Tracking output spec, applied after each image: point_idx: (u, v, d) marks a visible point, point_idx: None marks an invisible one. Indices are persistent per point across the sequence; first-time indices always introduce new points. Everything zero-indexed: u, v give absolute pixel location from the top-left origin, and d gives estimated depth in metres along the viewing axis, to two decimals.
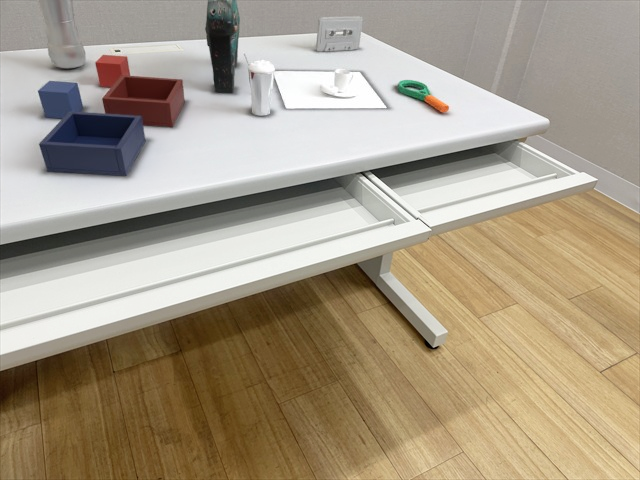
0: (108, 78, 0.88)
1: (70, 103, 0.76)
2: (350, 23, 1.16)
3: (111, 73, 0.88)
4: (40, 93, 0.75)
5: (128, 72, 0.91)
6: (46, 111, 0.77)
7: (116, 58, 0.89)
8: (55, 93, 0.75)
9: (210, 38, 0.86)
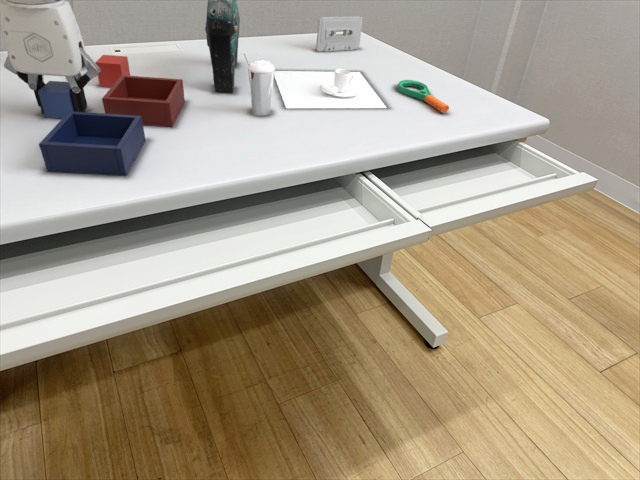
0: (108, 78, 0.88)
1: (70, 103, 0.76)
2: (350, 23, 1.16)
3: (111, 73, 0.88)
4: (40, 93, 0.75)
5: (128, 72, 0.91)
6: (46, 111, 0.77)
7: (116, 58, 0.89)
8: (55, 93, 0.75)
9: (210, 38, 0.86)
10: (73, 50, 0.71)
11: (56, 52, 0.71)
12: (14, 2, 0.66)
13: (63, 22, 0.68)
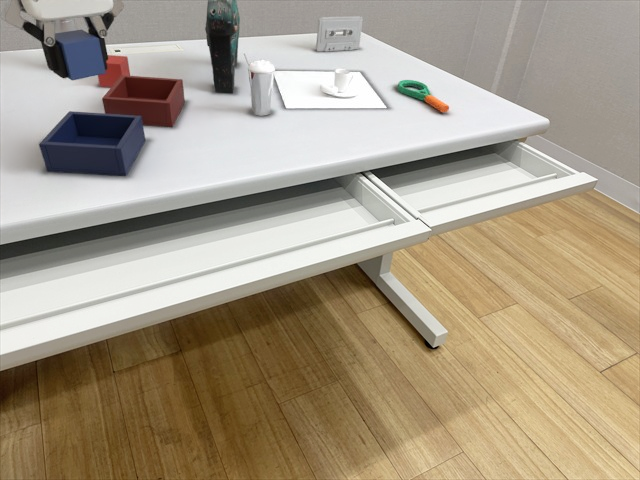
0: (108, 78, 0.88)
1: (100, 52, 0.61)
2: (350, 23, 1.16)
3: (111, 73, 0.88)
4: (66, 46, 0.57)
5: (128, 72, 0.91)
6: (73, 71, 0.59)
7: (116, 58, 0.89)
8: (84, 42, 0.59)
9: (210, 38, 0.86)
10: None
11: None
12: None
13: None
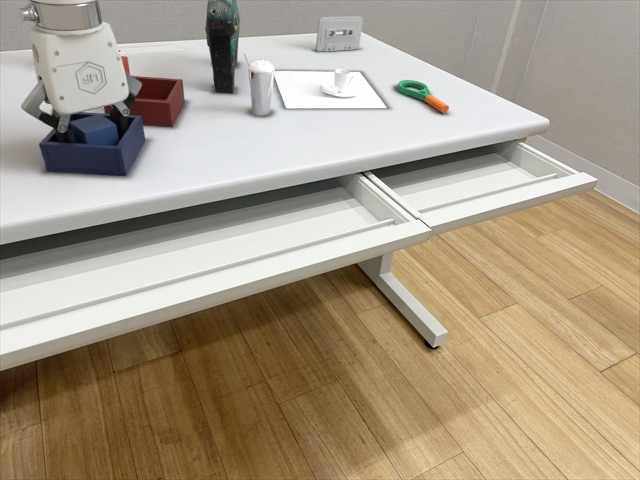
0: None
1: (117, 135, 0.68)
2: (350, 23, 1.16)
3: None
4: (87, 135, 0.64)
5: (128, 72, 0.91)
6: None
7: None
8: (104, 129, 0.66)
9: (210, 38, 0.86)
10: (124, 71, 0.64)
11: (109, 78, 0.62)
12: (73, 29, 0.56)
13: (115, 41, 0.61)
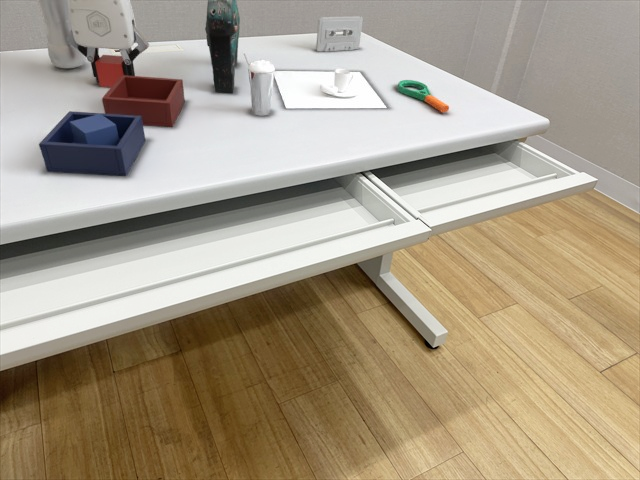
0: (108, 78, 0.88)
1: (117, 135, 0.68)
2: (350, 23, 1.16)
3: (111, 73, 0.88)
4: (87, 135, 0.64)
5: None
6: None
7: (116, 58, 0.89)
8: (104, 129, 0.66)
9: (210, 38, 0.86)
10: (128, 26, 0.82)
11: (114, 28, 0.82)
12: None
13: (121, 1, 0.80)
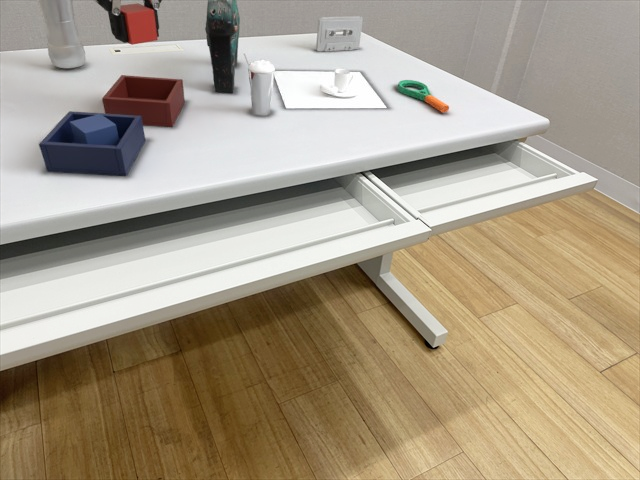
0: (141, 32, 0.73)
1: (117, 135, 0.68)
2: (350, 23, 1.16)
3: (144, 24, 0.72)
4: (87, 135, 0.64)
5: None
6: None
7: (134, 6, 0.73)
8: (104, 129, 0.66)
9: (210, 38, 0.86)
10: None
11: None
12: None
13: None
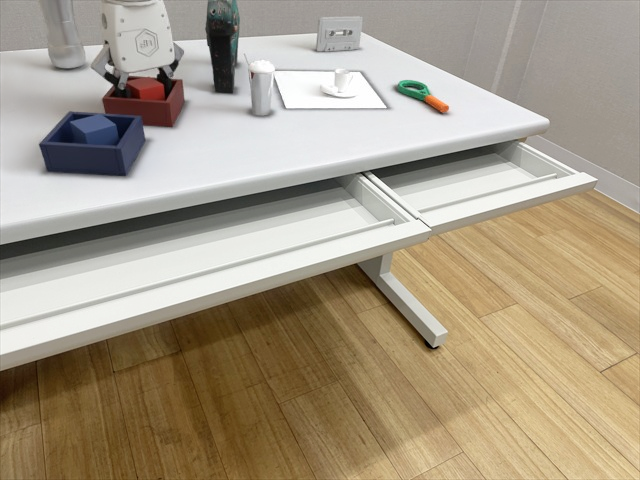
0: None
1: (117, 135, 0.68)
2: (350, 23, 1.16)
3: (154, 97, 0.79)
4: (87, 135, 0.64)
5: None
6: None
7: (146, 81, 0.80)
8: (104, 129, 0.66)
9: (210, 38, 0.86)
10: (172, 39, 0.77)
11: (161, 44, 0.75)
12: (136, 1, 0.68)
13: (166, 13, 0.74)
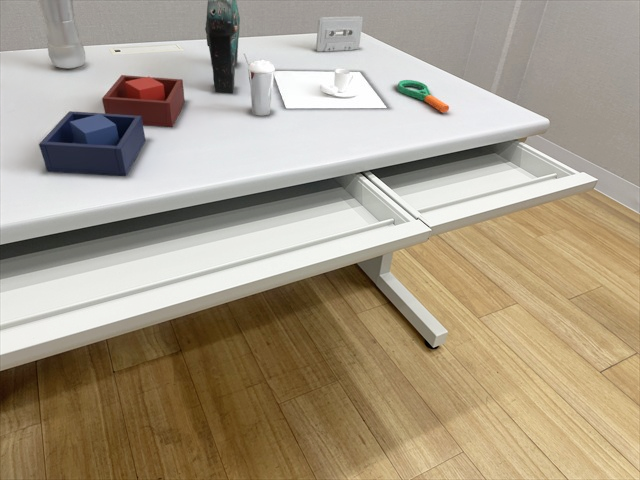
0: None
1: (117, 135, 0.68)
2: (350, 23, 1.16)
3: (154, 97, 0.79)
4: (87, 135, 0.64)
5: None
6: None
7: (146, 81, 0.80)
8: (104, 129, 0.66)
9: (210, 38, 0.86)
10: None
11: None
12: None
13: None
